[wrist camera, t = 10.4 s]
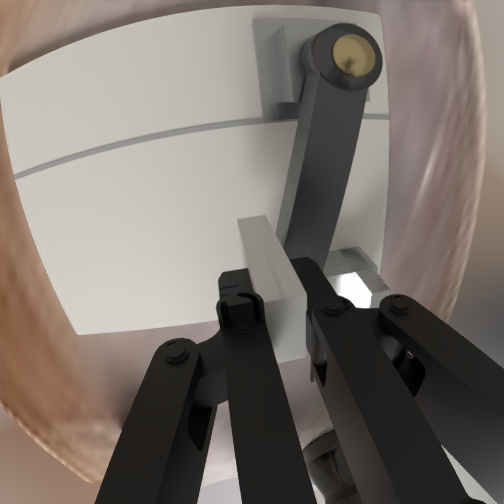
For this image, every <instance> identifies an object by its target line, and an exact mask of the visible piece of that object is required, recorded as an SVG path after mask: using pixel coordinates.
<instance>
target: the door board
mask: <svg viewBox="0 0 504 504" xmlns="http://www.w3.org/2000/svg"><path fill="white" fill-rule="evenodd" d="M258 18H306V19H324V20H336V21H346V22H354V23H356V25H357V26H359V27H361V28H364V30H366V31H367V32H368V33H369V34H370V35H372V37H373V38H374V39H375V40H376V42H377V43H378V45H379V47H380V50H381V53H382V58H383V67H382V72H381V74H380V76H379V78H378V80H377V81H376V82H375V83H374V84H373V85H371V86H370V87H369V90H370V102H365V107H364V117H362V122H361V127H360V132H359V136H358V141H357V145H356V150H355V154H354V158H353V163H352V167H351V171H350V175H349V179H348V183H347V187H346V191H345V195H344V199H343V203H342V206H341V210H340V214H339V218H338V221H337V225H336V228H335V232H334V236H333V239H332V242H331V246H330V249H329V251H334V250H340V249H346V248H352V247H358V246H359V247H360V248H361V249H362V250H363V251H364V252H365V253H366V254H367V256H368V257H369V258H370V259H371V260H372V261H373V262H374V263H375V264H376V266H377V267H378V275H380V267H381V260H382V251H383V242H384V233H385V222H386V209H387V194H388V173H389V107H388V87H387V72H386V61H385V51H384V42H383V34H382V26H381V19H380V14H374V13H369V12H362V11H356V10H348V9H340V8H331V7H319V6H302V5H251V6H234V7H223V8H213V9H205V10H197V11H190V12H184V13H178V14H173V15H167V16H162V17H158V18H153V19H149V20H144V21H140V22H136V23H132V24H129V25H125V26H122V27H118V28H115V29H111V30H108V31H105V32H102V33H99V34H96V35H93V36H90V37H87V38H85V39H82V40H79V41H76V42H74V43H71V44H69V45H66V46H64V47H61V48H59V49H57V50H54V51H52V52H50V53H48V54H45V55H43V56H41V57H39V58H37V59H35V60H33V61H31V62H29V63H27V64H25V65H23V66H21V67H19V68H17V69H15V70H14V71H12V72H10V73H8V74H6V75H5V76H3V77H1V78H0V99H1V108H2V115H3V122H4V129H5V135H6V140H7V145H8V150H9V155H10V160H11V164H12V169H13V173H14V179H15V181H16V185H17V188H18V192H19V195H20V199H21V202H22V206H23V209H24V212H25V215H26V218H27V221H28V224H29V227H30V230H31V233H32V236H33V239H34V241H35V244H36V247H37V249H38V252H39V255H40V257H41V260H42V262H43V264H44V267H45V269H46V272H47V274H48V276H49V279H50V281H51V283H52V285H53V288H54V290H55V292H56V294H57V296H58V298H59V300H60V302H61V304H62V307H63V309H64V311H65V313H66V314H67V316H68V318H69V320H70V322H71V324H72V326H73V328H74V330H75V332H76V333H77V335H84V334H98V333H110V332H121V331H132V330H142V329H151V328H160V327H169V326H177V325H186V324H193V323H201V322H208V321H215V320H218V316H217V312H216V304H217V302H218V301H219V299H220V298H219V287H218V279H219V277H220V275H221V274H222V272H226V271H232V270H237V269H243V261H242V254H241V247H240V240H239V233H238V226H237V219H241V218H247V217H254V216H260V215H266V217H267V219H268V221H269V223H270V225H271V227H272V228H273V230H274V232H275V233H276V229H277V224H278V219H279V214H280V209H281V204H282V200H283V195H284V190H285V185H286V180H287V175H288V170H289V165H290V160H291V155H292V150H293V145H294V139H295V134H296V129H297V124H298V119H287V120H273V121H263V118H262V110H261V100H260V91H259V81H258V72H257V63H256V54H255V45H254V37H253V28H252V19H258Z"/></svg>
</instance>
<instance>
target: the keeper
mask: <svg viewBox="0 0 504 504" xmlns="http://www.w3.org/2000/svg"><path fill="white" fill-rule="evenodd" d="M323 273H324V275H325V276H326V278H327V279H328V281H329V282H330V284H331V285H332V287H333V289H334V290H335V292H336V293H337V295H338V296H343V297H345V298H347V299H349V300H350V301H351V302H352V303H353V304H354V305H355V307H358V308H379V304H380V302H381V300H382V299H383V298H385V297H386V296H389V295H390V289H389V287H388V286H387V285H386V284H385V283H384V281H383V280H382V279H381V278H380V277H379V275H378V267H377V266H376V264H375V263H374V262H373V261H372V260H371V259H370V258H369V257H368V256H367V254H366V253H365V252H364V251H363V250H362V249H361V248H360V247H359V246H358V247H352V248H346V249H340V250H334V251H329V253H328V256H327V259H326V263H325V266H324V269H323Z"/></svg>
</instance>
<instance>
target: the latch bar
mask: <svg viewBox="0 0 504 504" xmlns="http://www.w3.org/2000/svg"><path fill="white" fill-rule="evenodd" d="M301 58H302V65H303V68H304V70H305V72H306V74H307V76H306V81H305V87H304V92H303V97H302V103H301V108H300V113H299V119H298V124H297V129H296V134H295V139H294V145H293V150H292V155H291V160H290V165H289V170H288V175H287V180H286V185H285V190H284V195H283V200H282V204H281V209H280V214H279V219H278V224H277V229H276V233H275V234H276V236H277V238H278V240H279V242H280V244H281V245H282V247H283V249H284V251H285V253H286V255H287V257H288V259H289V260H290V259H296V258H302V257H309V258H310V259H312V260H314V261H315V262H316V263H317V264H318V266H319V267H320V269H321V270H322V272H323V269H324V266H325V263H326V259H327V256H328V253H329V249H330V246H331V242H332V239H333V236H334V232H335V228H336V225H337V221H338V218H339V214H340V210H341V206H342V203H343V199H344V195H345V191H346V187H347V183H348V179H349V175H350V171H351V167H352V163H353V158H354V154H355V150H356V145H357V141H358V136H359V132H360V127H361V122H362V117H363V112H364V107H365V102H366V97H367V92H368V87H370V86H371V85H373V84H374V83H375V82H376V81H377V80H378V78H379V76H380V74H381V72H382V67H383V58H382V53H381V50H380V47H379V45H378V43H377V42H376V40H375V39H374V38H373V37H372V35H370V34H369V33H368V32H367V31H366V30H364V29H363V28H361V27H359V26H357V25H354V24H349V23H338V24H334V25H332V26H330V27H328V28H326V29H324V30H322V31H321V32H319V33H317V34H315V35H314V36H312V37H311V38H309V39H308V41H307V42H306V43H305V45H304V47H303V50H302V56H301Z"/></svg>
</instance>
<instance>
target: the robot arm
mask: <svg viewBox="0 0 504 504" xmlns="http://www.w3.org/2000/svg"><path fill="white" fill-rule="evenodd" d="M237 226H238V233H239V240H240V247H241V254H242V261H243V269H237V270H232V271H226V272H222V274H221V275H220V277H219V279H218V287H219V298H220V299H219V301H218V302H217V304H216V312H217V316H218V320H219V324H220V330H219V331H218V332H217V333H216V334H215V335H214V336H213V337H212V338H210V339H208V340H206V341H204V342H201V343H199V344H196V343H195V342H193V341H192V340H190V339H185V338H177V339H172V340H169V341H167V342H165V343H164V344H162V345H161V346H159V348H158V349H157V350H156V352H155V354H154V356H153V358H152V360H151V363H150V365H149V367H148V370H147V372H146V374H145V377H144V379H143V381H142V384H141V386H140V388H139V391H138V393H137V395H136V398H135V400H134V402H133V405H132V407H131V410H130V412H129V415H128V417H127V419H126V422H125V424H124V427H123V429H122V432H121V434H120V437H119V439H118V442H117V444H116V447H115V450H114V452H113V455H112V457H111V460H110V463H109V465H108V468H107V471H106V473H105V476H104V479H103V482H102V484H101V487H100V490H99V492H98V495H97V498H96V501H95V504H197V501H198V497H199V491H200V487H201V482H202V478H203V473H204V468H205V463H206V459H207V454H208V449H209V444H210V440H211V435H212V430H213V425H214V421H215V416H216V411H217V405H218V404H220V403H223V402H225V401H227V400H228V403H229V411H230V420H231V428H232V435H233V443H234V451H235V458H236V465H237V472H238V479H239V486H240V492H241V499H242V504H317V501H316V498H315V494H314V491H313V487H312V484H311V480H312V482H313V483H314V484H315V486H316V487H317V488H318V489H319V491H320V492H321V494H322V495H323V497H324V499H325V503H326V504H486V503H484V502H483V501H480V500H476V499H472V498H471V497H469V496H468V494H467V493H466V491H465V489H464V487H463V485H462V483H461V482H460V480H459V478H458V476H457V474H456V472H455V470H454V468H453V466H452V464H451V462H450V461H449V459H448V457H447V455H446V453H445V451H444V450H443V448H442V446H443V447H444V448H445V449H446V450H447V451H448V452H449V453H450V454H451V455H452V456H453V457H454V458H455V459H456V460H457V461H458V462H459V463H460V464H461V466H462V467H463V468H464V469H465V470H467V472H468V473H469V474H470V475H471V476H472V477H473V478H474V479H475V480H476V481H477V482H478V483H479V484H480V485H481V487H482V488H483V489H484V490H485V491H486V492H487V493H488V494H489V495H490V496H491V497H492V498H493V499H494V500H495V501H496V502H497V503H498V504H504V369H503V368H502V367H501V366H499V365H498V364H497V363H496V362H494V361H493V360H492V359H491V358H490V357H488V356H487V355H486V354H484V353H483V352H482V351H481V350H480V349H478V348H477V347H476V346H475V345H473V344H472V343H471V342H470V341H468V340H467V339H466V338H464V337H463V336H462V335H461V334H459V333H458V332H457V331H455V330H454V329H453V328H451V327H450V326H449V325H447V324H446V323H445V322H443V321H442V320H441V319H439V318H438V317H437V316H435V315H434V314H433V313H431V312H430V311H429V310H427V309H426V308H425V307H423V306H422V305H420V304H419V303H418V302H416V301H415V300H414V299H412V298H410V297H408V296H405V295H400V294H394V295H389V296H386V297H385V298H383V299H382V300H381V302H380V304H379V308H358V307H355V305H354V304H353V303H352V302H351V301H350V300H349V299H347V298H345V297H343V296H338V295H337V293H336V292H335V290H334V289H333V287H332V285H331V284H330V282H329V281H328V279H327V278H326V276H325V275H324V273H323V272H322V270H321V269H320V267H319V266H318V264H317V263H316V262H315V261H314V260H312V259H310V258H309V257H302V258H296V259H290V260H289V259H288V257H287V255H286V253H285V251H284V249H283V247H282V245H281V244H280V242H279V240H278V238H277V236H276V234H275V232H274V230H273V228H272V227H271V225H270V223H269V221H268V219H267V217H266V215H260V216H254V217H247V218H241V219H237ZM307 349H308V351H309V354H310V356H311V372H310V379H311V382H314V377H315V379H316V382H317V385H318V387H319V390H320V392H321V395H322V397H323V400H324V403H325V405H326V408H327V410H328V413H329V416H330V418H331V421H332V424H333V426H334V429H335V431H333V432H330V433H328V434H326V435H324V436H323V437H321V438H319V439H317V440H316V441H314V442H313V443H311V444H310V445H309V446H308V447H306V448H305V449H304V451H303V452H302V449H301V445H300V442H299V438H298V435H297V431H296V428H295V424H294V421H293V417H292V414H291V410H290V407H289V403H288V399H287V396H286V392H285V389H284V385H283V382H282V378H281V375H280V371H279V367H278V363H283V362H288V361H293V360H297V359H302V358H306V357H307ZM408 351H409V352H410V353H411V354H413V355H414V356H412V355H410V354H409V353H408ZM441 445H442V446H441ZM310 479H311V480H310Z"/></svg>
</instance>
